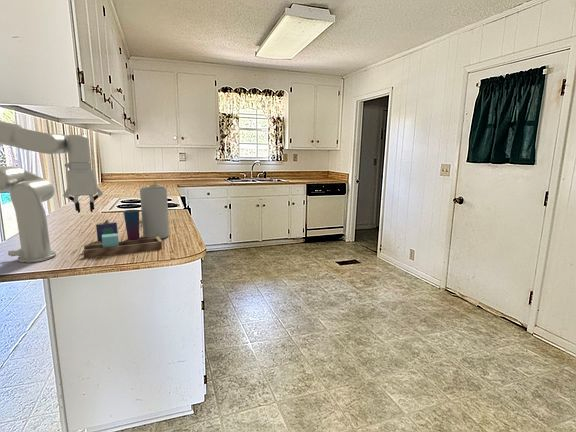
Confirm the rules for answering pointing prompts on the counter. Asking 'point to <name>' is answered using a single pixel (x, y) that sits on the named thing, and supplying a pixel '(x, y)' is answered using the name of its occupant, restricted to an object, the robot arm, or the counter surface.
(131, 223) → the cup
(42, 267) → the counter surface
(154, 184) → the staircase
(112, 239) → the block
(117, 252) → the chute
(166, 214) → the cylinder vase
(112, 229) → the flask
